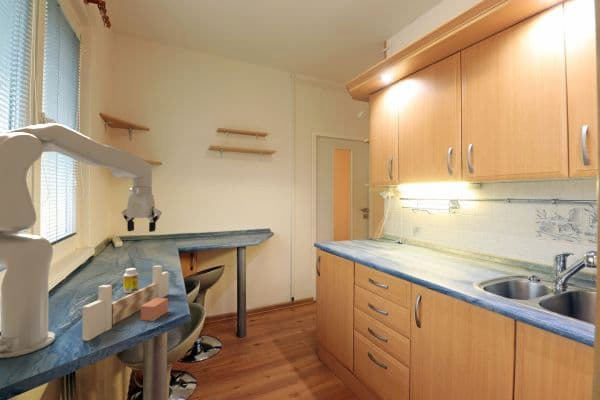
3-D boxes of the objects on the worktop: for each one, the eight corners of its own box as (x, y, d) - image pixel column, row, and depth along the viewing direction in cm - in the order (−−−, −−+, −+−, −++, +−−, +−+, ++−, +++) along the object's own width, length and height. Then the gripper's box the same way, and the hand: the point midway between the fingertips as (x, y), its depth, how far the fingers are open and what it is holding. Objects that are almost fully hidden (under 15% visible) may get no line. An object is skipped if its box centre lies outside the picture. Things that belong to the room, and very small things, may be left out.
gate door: (110, 326, 90) (110, 305, 90) (106, 326, 90) (106, 305, 90) (156, 300, 113) (156, 283, 113) (153, 300, 113) (153, 283, 113)
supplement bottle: (133, 293, 122) (133, 270, 122) (120, 293, 121) (120, 270, 121) (140, 289, 127) (140, 267, 127) (127, 289, 127) (127, 267, 127)
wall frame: (89, 340, 81) (90, 293, 81) (80, 340, 82) (81, 293, 82) (169, 294, 121) (169, 262, 121) (163, 294, 121) (163, 262, 121)
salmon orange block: (154, 321, 95) (154, 306, 95) (140, 320, 96) (140, 306, 96) (167, 311, 103) (167, 298, 103) (155, 311, 104) (155, 297, 104)
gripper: (116, 190, 115) (115, 231, 115) (155, 191, 113) (155, 232, 113) (129, 191, 122) (128, 229, 122) (166, 191, 120) (165, 230, 120)
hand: (141, 231), depth 117 cm, fingers open, 9 cm apart
